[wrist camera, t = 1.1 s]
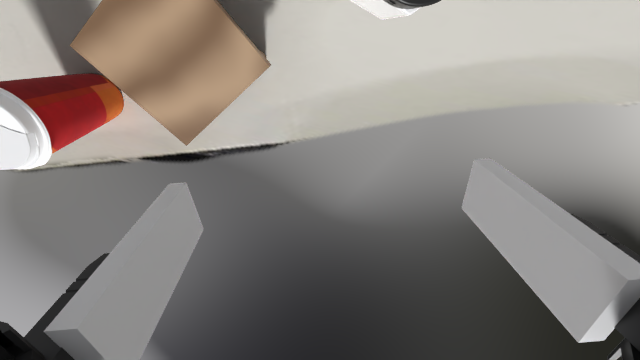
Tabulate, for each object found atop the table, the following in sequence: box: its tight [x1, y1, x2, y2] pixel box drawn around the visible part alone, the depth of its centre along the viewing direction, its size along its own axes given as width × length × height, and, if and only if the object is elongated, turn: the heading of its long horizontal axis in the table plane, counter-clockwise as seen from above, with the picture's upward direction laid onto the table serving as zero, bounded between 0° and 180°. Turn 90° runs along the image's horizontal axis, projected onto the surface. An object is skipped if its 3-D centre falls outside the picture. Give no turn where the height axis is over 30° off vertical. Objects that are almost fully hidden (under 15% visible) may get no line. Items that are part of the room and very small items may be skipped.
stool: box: [70, 0, 271, 146], centre depth 28 cm, size 13×13×7 cm
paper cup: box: [0, 74, 124, 170], centre depth 27 cm, size 8×8×14 cm
